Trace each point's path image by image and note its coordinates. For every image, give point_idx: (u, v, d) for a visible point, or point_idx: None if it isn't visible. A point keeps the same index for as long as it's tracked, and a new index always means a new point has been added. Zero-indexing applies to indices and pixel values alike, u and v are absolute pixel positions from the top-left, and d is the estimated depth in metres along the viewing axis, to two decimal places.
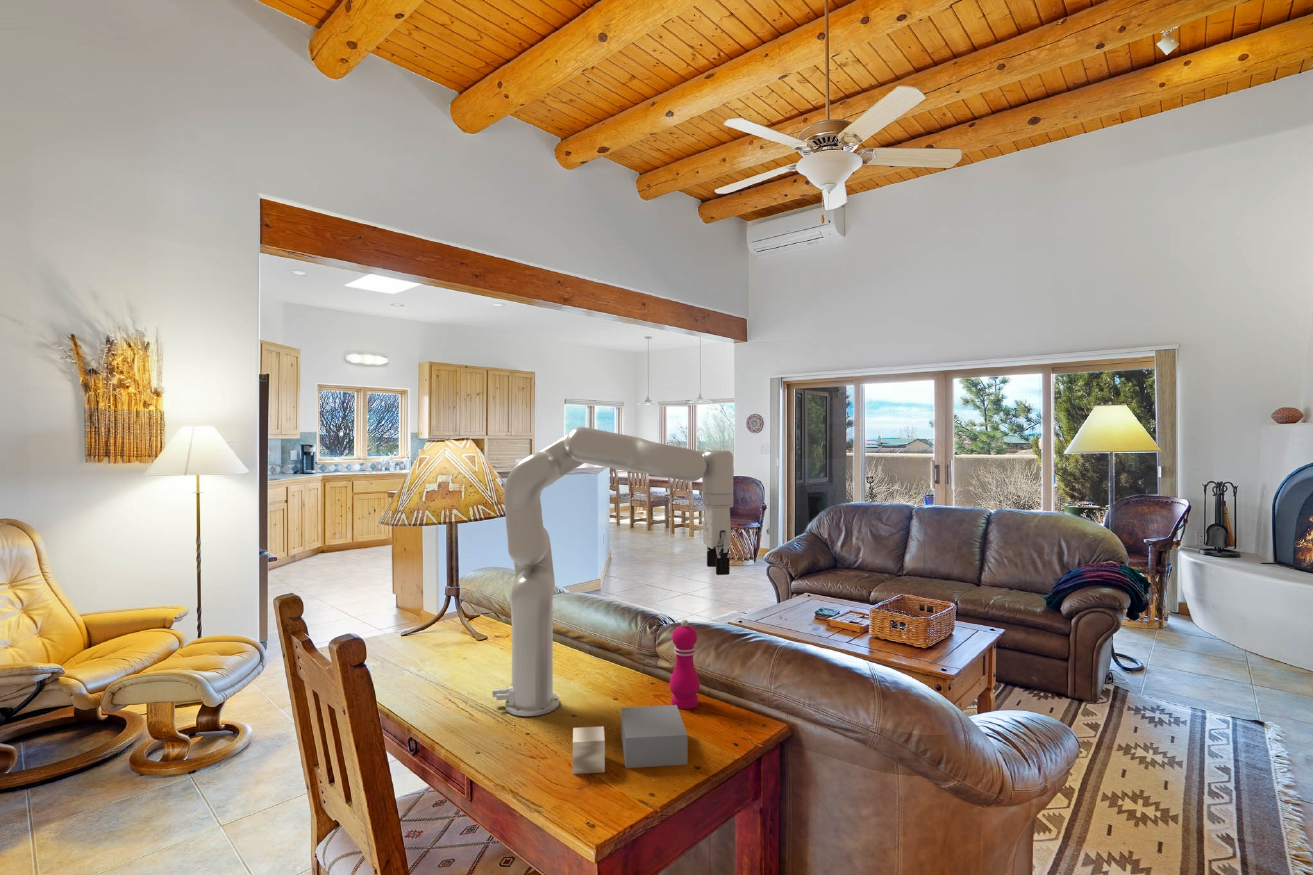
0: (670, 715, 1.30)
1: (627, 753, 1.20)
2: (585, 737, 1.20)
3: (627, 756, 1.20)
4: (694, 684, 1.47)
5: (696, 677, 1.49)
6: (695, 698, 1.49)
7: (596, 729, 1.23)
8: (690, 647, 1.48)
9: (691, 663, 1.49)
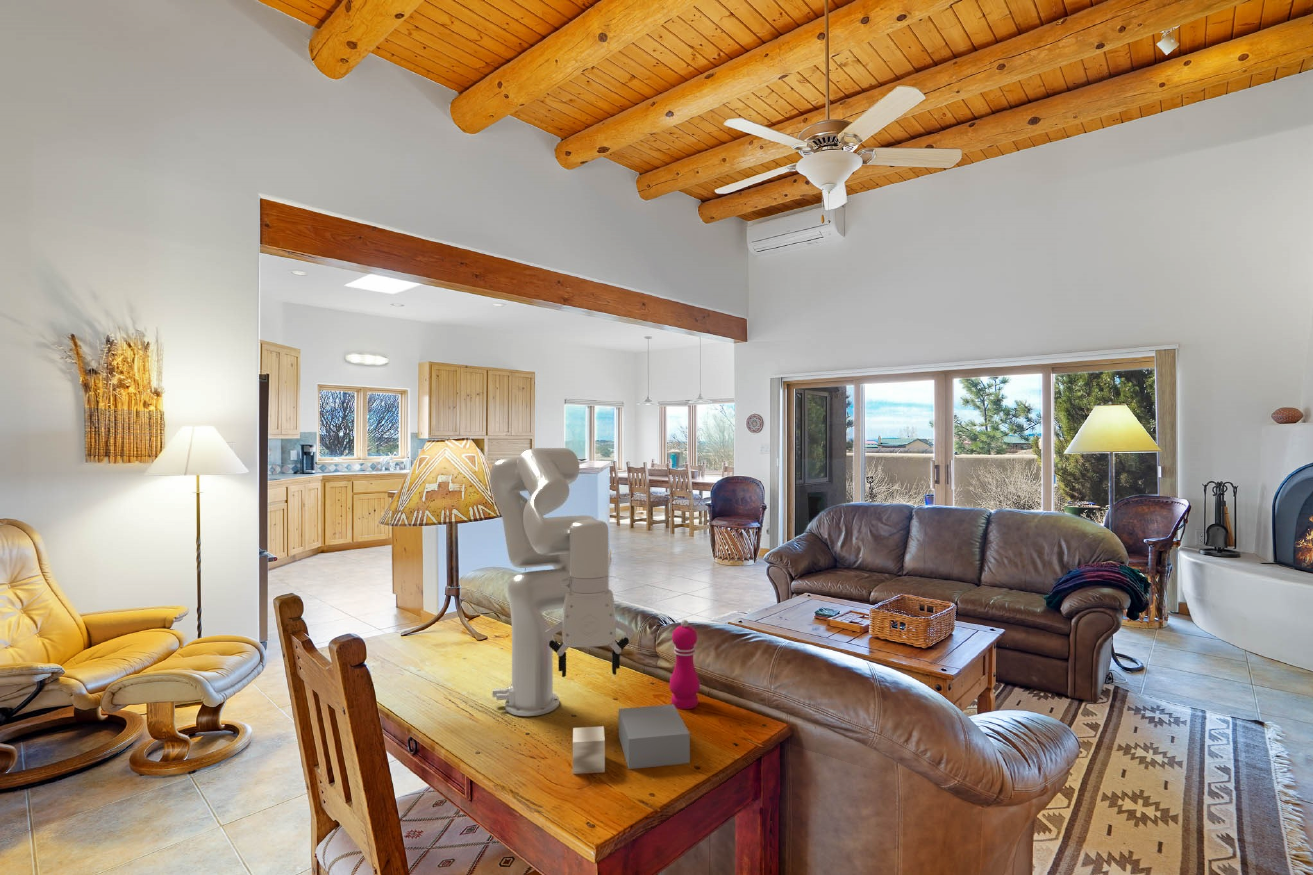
0: (669, 715, 1.30)
1: (630, 754, 1.20)
2: (585, 737, 1.20)
3: (630, 757, 1.20)
4: (694, 684, 1.47)
5: (696, 677, 1.49)
6: (695, 698, 1.49)
7: (596, 729, 1.23)
8: (690, 647, 1.48)
9: (691, 663, 1.49)
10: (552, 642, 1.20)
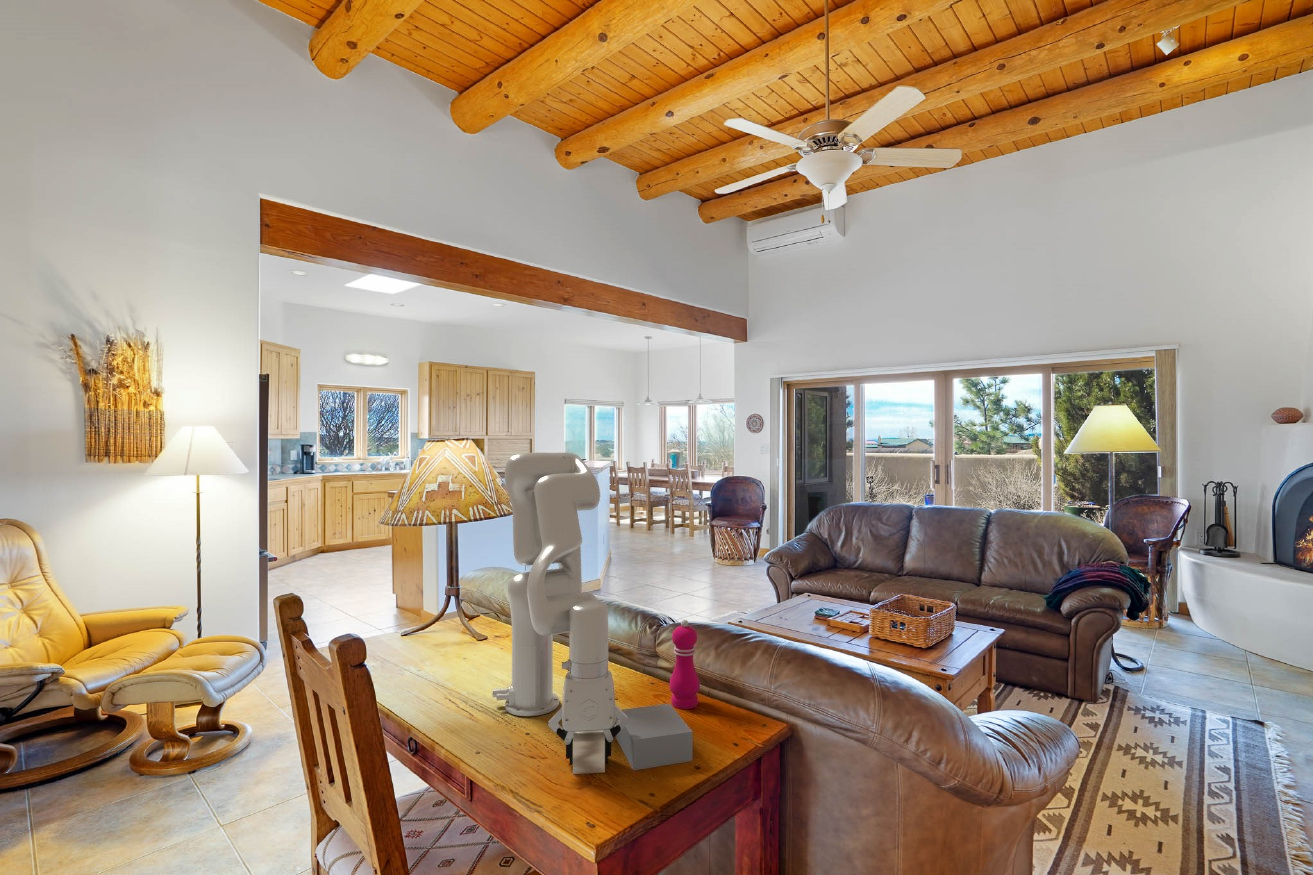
0: (667, 714, 1.31)
1: (635, 755, 1.19)
2: (585, 737, 1.20)
3: (635, 758, 1.19)
4: (694, 684, 1.47)
5: (696, 677, 1.49)
6: (695, 698, 1.49)
7: None
8: (690, 647, 1.48)
9: (691, 663, 1.49)
10: (559, 730, 1.20)
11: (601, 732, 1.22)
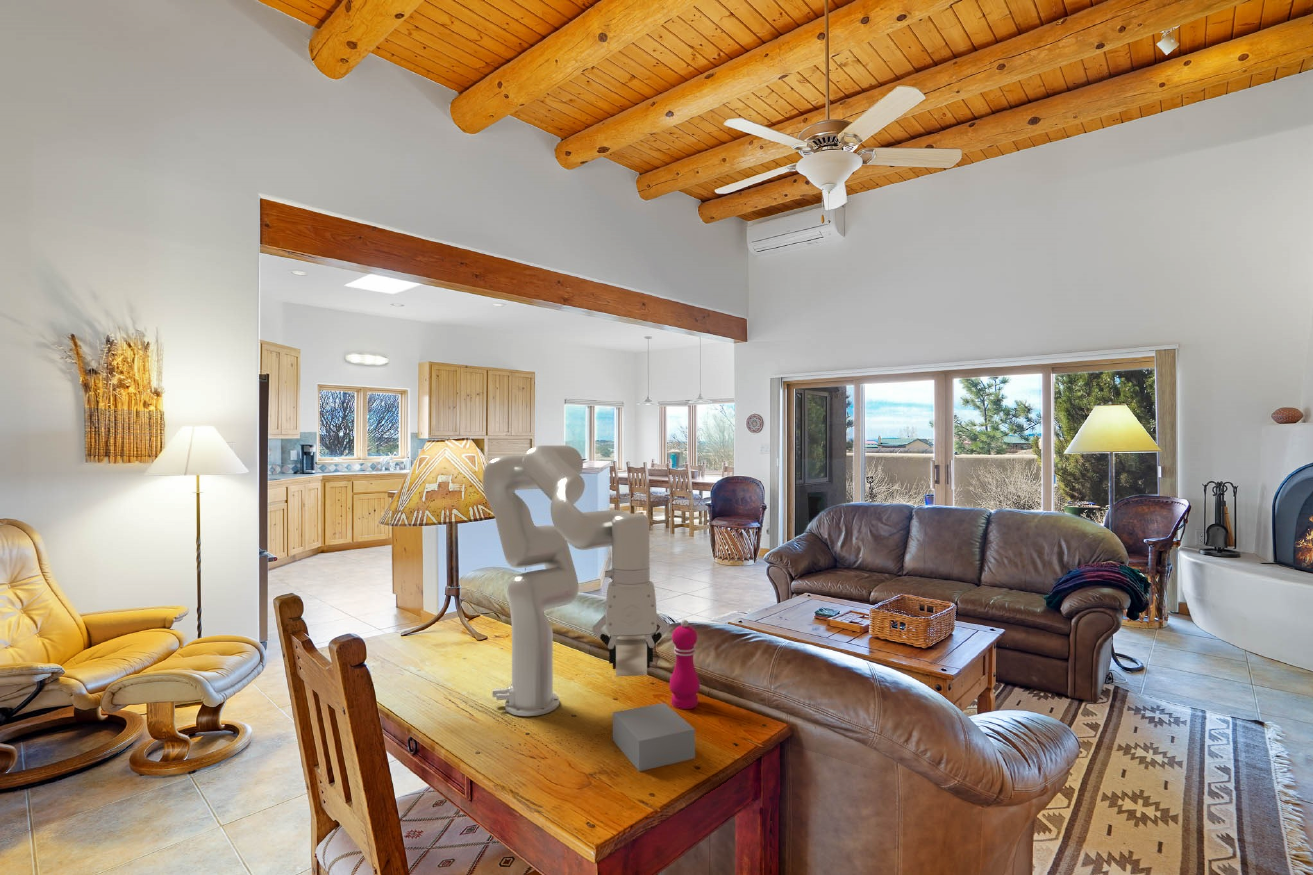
0: (665, 713, 1.31)
1: (640, 756, 1.19)
2: (627, 642, 1.24)
3: (640, 759, 1.19)
4: (694, 684, 1.47)
5: (696, 677, 1.49)
6: (695, 698, 1.49)
7: (638, 637, 1.28)
8: (690, 647, 1.48)
9: (691, 663, 1.49)
10: (603, 635, 1.24)
11: (643, 639, 1.26)
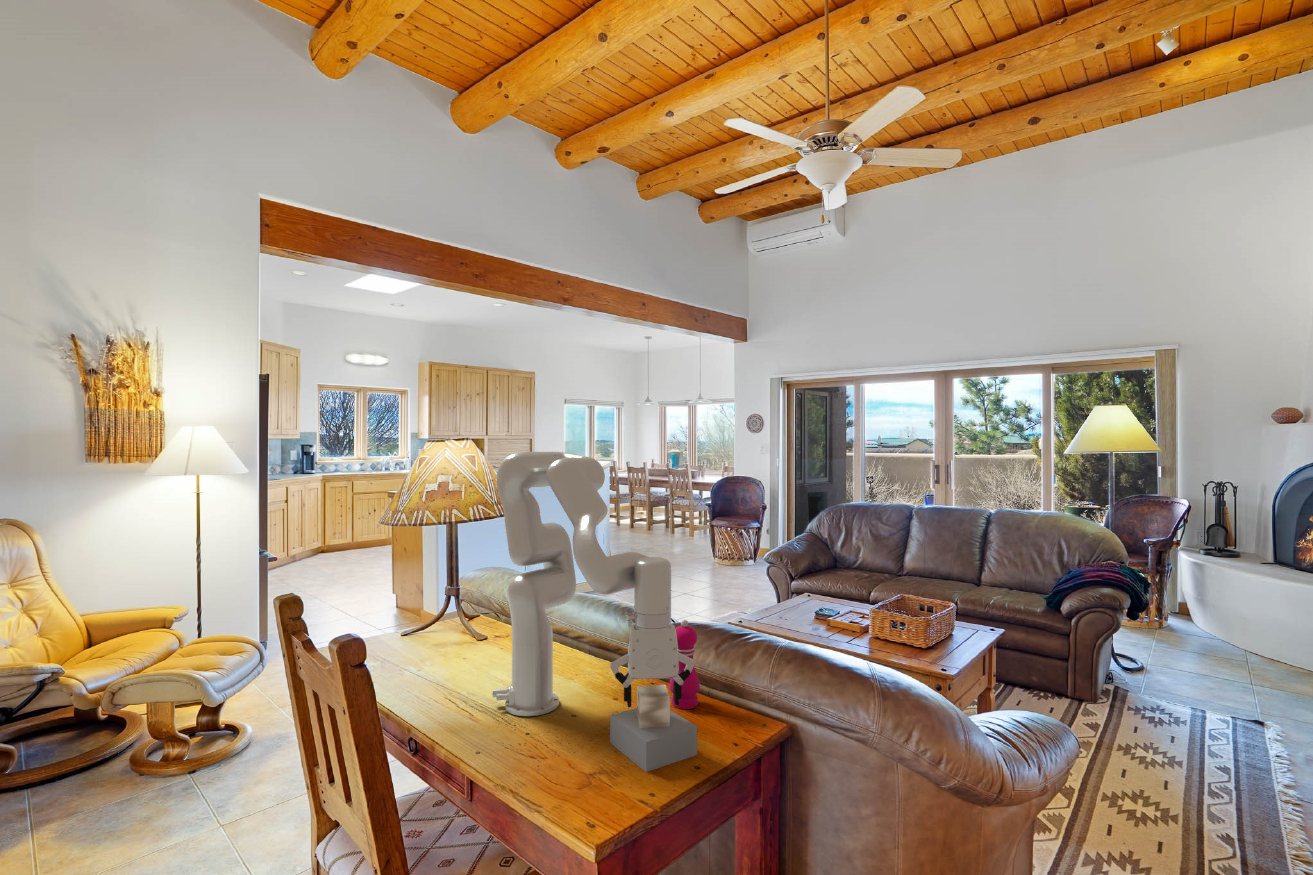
0: None
1: (647, 757, 1.19)
2: (650, 693, 1.26)
3: (647, 760, 1.19)
4: (694, 684, 1.47)
5: (696, 677, 1.49)
6: (695, 698, 1.49)
7: (659, 687, 1.30)
8: (690, 647, 1.48)
9: None
10: (618, 674, 1.26)
11: (664, 689, 1.29)
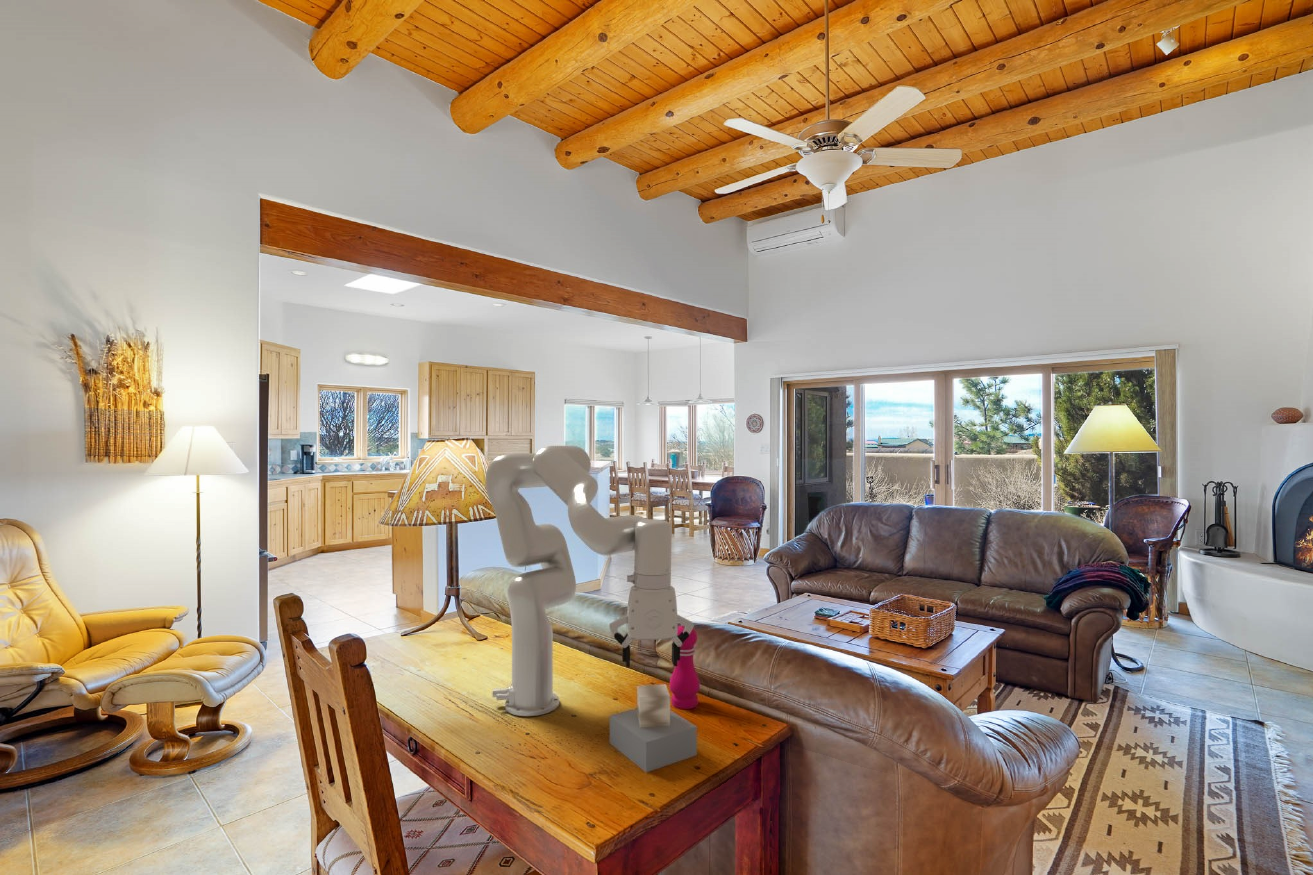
0: None
1: (647, 757, 1.19)
2: (650, 693, 1.27)
3: (647, 760, 1.19)
4: (694, 684, 1.47)
5: (696, 677, 1.49)
6: (695, 698, 1.49)
7: (659, 686, 1.30)
8: (690, 647, 1.48)
9: (691, 663, 1.49)
10: (617, 634, 1.27)
11: (665, 689, 1.29)
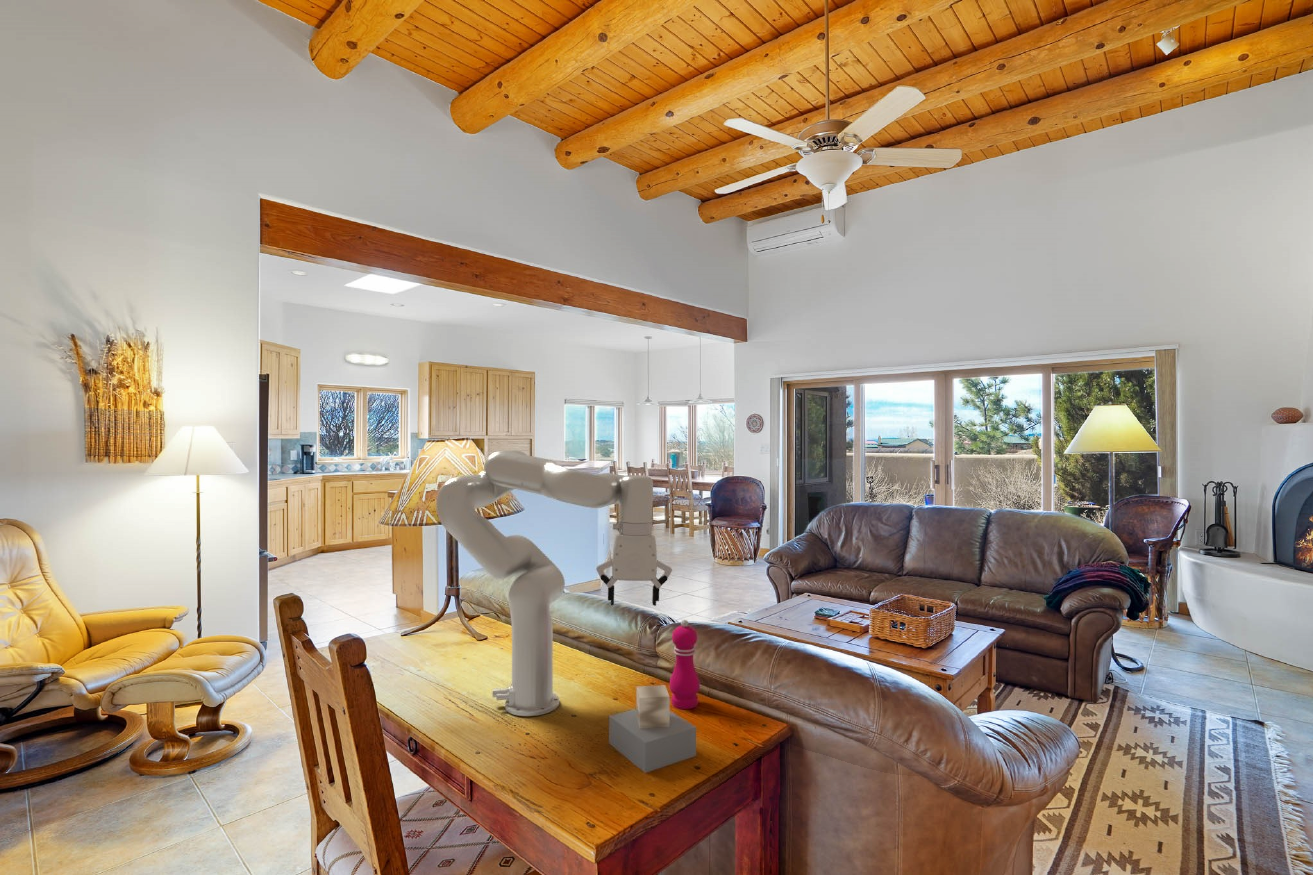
0: None
1: (646, 757, 1.19)
2: (650, 694, 1.26)
3: (646, 760, 1.19)
4: (694, 684, 1.47)
5: (696, 677, 1.49)
6: (695, 698, 1.49)
7: (658, 687, 1.30)
8: (690, 647, 1.48)
9: (691, 663, 1.49)
10: (603, 576, 1.43)
11: (664, 690, 1.28)
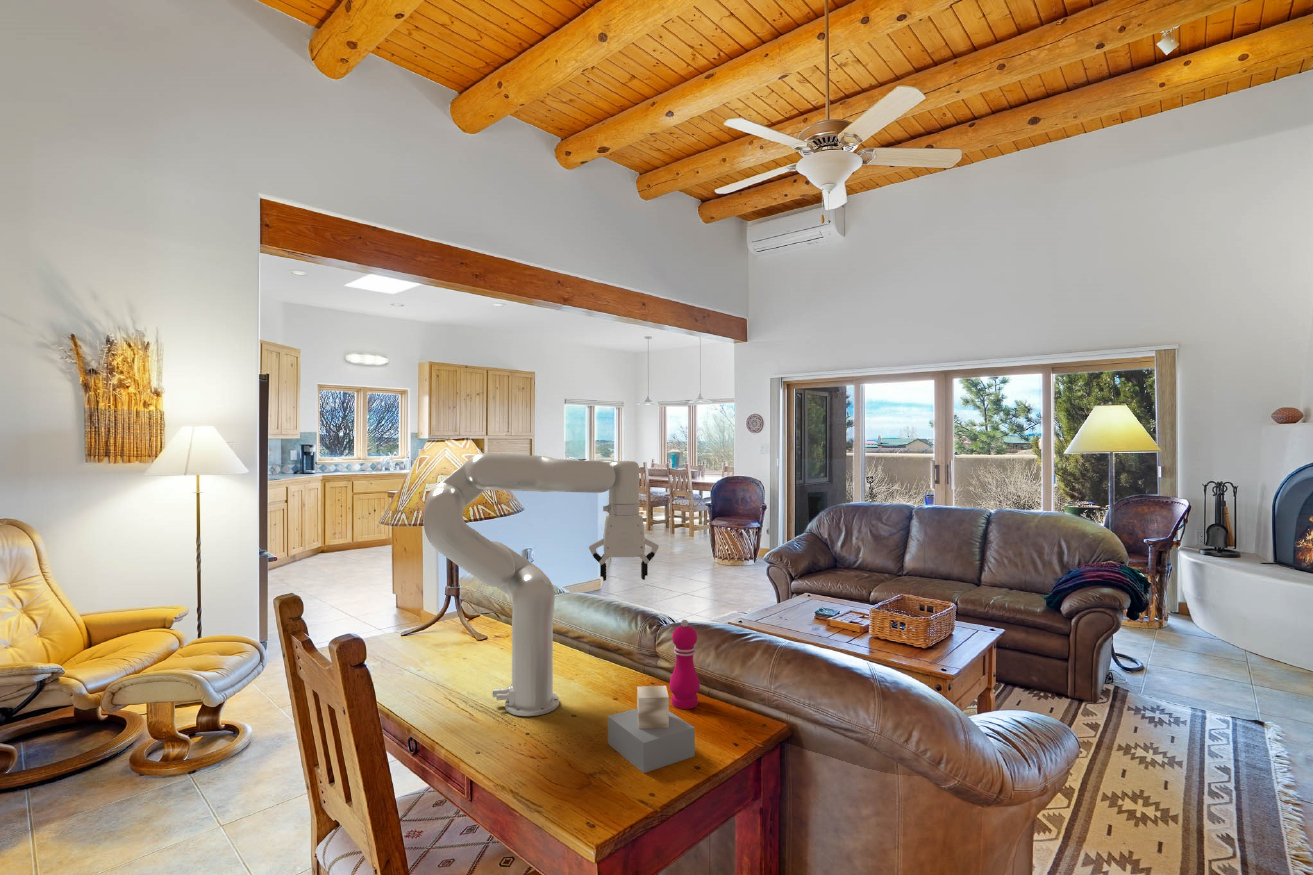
0: None
1: (645, 758, 1.19)
2: (649, 694, 1.26)
3: (645, 761, 1.19)
4: (694, 684, 1.47)
5: (696, 677, 1.49)
6: (695, 698, 1.49)
7: (659, 688, 1.29)
8: (690, 647, 1.48)
9: (691, 663, 1.49)
10: (595, 554, 1.55)
11: (664, 690, 1.28)
